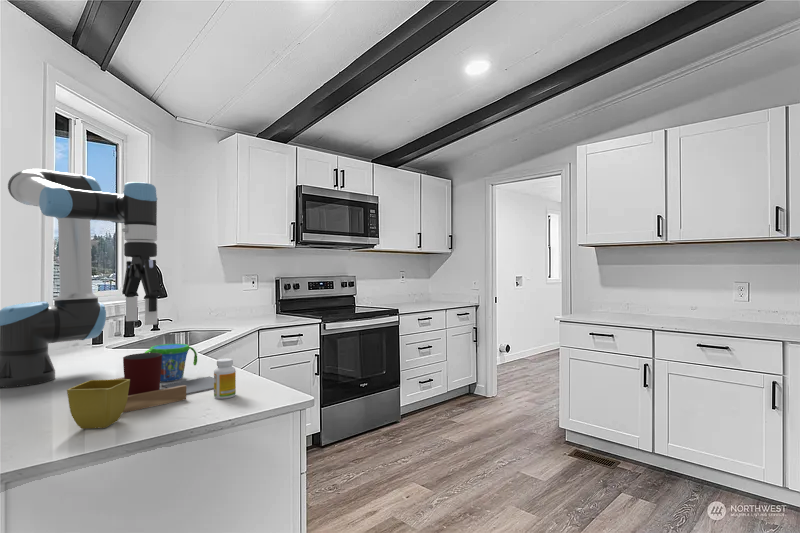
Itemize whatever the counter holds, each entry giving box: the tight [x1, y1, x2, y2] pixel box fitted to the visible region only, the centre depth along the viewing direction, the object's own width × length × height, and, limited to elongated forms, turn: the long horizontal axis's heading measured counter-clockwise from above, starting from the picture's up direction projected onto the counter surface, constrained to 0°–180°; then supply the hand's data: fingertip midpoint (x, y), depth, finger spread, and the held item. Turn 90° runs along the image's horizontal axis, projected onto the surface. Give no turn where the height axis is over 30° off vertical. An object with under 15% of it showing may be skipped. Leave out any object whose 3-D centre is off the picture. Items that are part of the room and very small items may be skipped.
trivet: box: [161, 375, 214, 396], centre depth 133 cm, size 14×14×1 cm
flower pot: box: [66, 379, 130, 430], centre depth 100 cm, size 9×9×9 cm
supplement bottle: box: [213, 357, 237, 400], centre depth 122 cm, size 5×5×10 cm
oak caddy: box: [109, 377, 187, 414], centre depth 120 cm, size 22×18×4 cm
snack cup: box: [144, 343, 198, 383], centre depth 141 cm, size 16×10×10 cm
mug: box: [122, 352, 162, 396], centre depth 122 cm, size 12×9×11 cm
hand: (141, 322), depth 122 cm, fingers open, 13 cm apart
